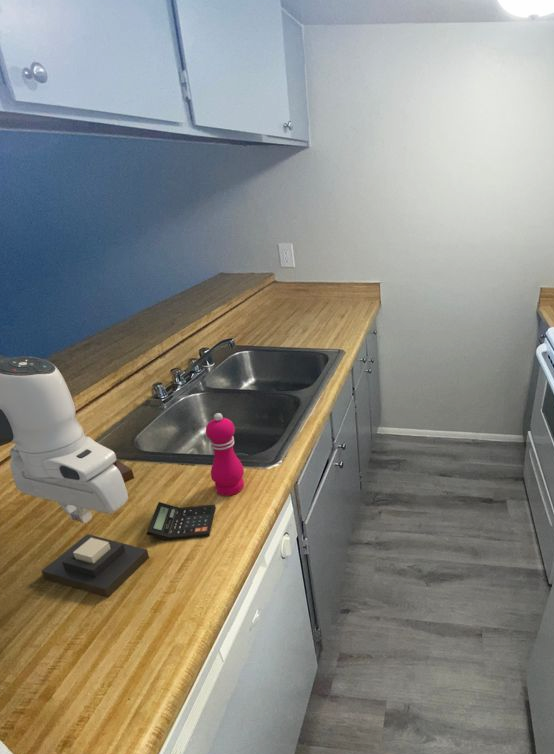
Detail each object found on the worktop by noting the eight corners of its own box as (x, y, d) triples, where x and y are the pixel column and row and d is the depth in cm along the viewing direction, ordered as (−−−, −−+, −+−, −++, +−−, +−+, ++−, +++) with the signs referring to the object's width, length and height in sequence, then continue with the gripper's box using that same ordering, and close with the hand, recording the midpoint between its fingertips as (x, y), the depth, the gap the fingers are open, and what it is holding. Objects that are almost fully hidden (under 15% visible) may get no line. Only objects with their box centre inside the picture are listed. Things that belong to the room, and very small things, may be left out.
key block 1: (44, 579, 86) (37, 563, 84) (90, 542, 94) (84, 526, 93) (108, 597, 83) (102, 581, 81) (149, 557, 91) (145, 542, 90)
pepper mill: (223, 477, 115) (210, 404, 106) (251, 480, 114) (240, 407, 105) (208, 495, 109) (193, 419, 99) (237, 499, 108) (225, 423, 99)
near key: (75, 559, 86) (72, 552, 85) (93, 544, 89) (91, 537, 88) (93, 564, 85) (90, 557, 84) (111, 549, 88) (108, 542, 87)
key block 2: (61, 476, 113) (56, 460, 111) (105, 458, 120) (100, 443, 118) (90, 498, 106) (84, 482, 104) (134, 478, 114) (130, 462, 111)
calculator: (209, 536, 97) (206, 525, 96) (148, 543, 95) (144, 531, 93) (215, 507, 105) (213, 496, 104) (159, 512, 103) (156, 502, 102)
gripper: (-12, 453, 76) (18, 519, 83) (91, 475, 72) (115, 543, 78) (25, 434, 82) (51, 497, 88) (123, 453, 77) (143, 519, 84)
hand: (82, 519), depth 83 cm, fingers closed
